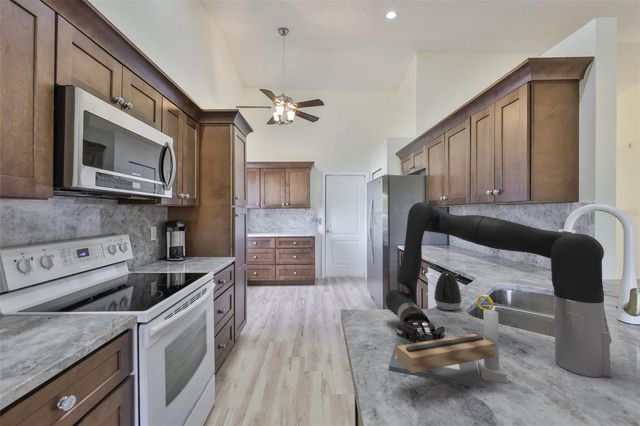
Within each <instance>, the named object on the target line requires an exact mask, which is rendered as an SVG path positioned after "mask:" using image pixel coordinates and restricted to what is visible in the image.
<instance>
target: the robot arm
mask: <svg viewBox="0 0 640 426" xmlns="http://www.w3.org/2000/svg"><path fill="white" fill-rule="evenodd" d="M406 222H407V223H406V231H405V241H404V247H403V254H402V258H401V261H400V265H399V268H398V272H397V276H396V281H397V283H398V284H400V285H402V286H404V287H406V288H407V292H405V291H401V290H398V289H391V290H389V291H388V292H387V294H386V296H385V304H386V307H387V309H388V310H389V311H390V312H392V314H394V315H395V316H397V317H398V318H397V319H398V321H399V324H397V325H396V335H397V336H398V337H400V338H402V339H404V340H406V341H409V342H411V343H412V344H413V343H419V342H426V341H432V340H438V339H444V338H445V337H446V335H445V334H446V330H445V329H446V328H445V327H444V326H439V327H435V325H434V324H433V323H431V321H430V319H429V318H428V316H427V315H426V313H425V312H424V311H423V309H421V307H419V306H418V295H417V294H418V290H417V289H418V282H419V278H420V273H421V270H422V265H423V253H422V252H423V251H422V250H423V249H422V246H423V238H424V234H425V232H427V233H428V232H429V233H437V234H443V235H448V236H452V237H454V238H458V239H459V240H463V241H466V242H468V243H472V244H475V245H479V246H483V247H486V248H491V249H493V250H494V249H495V250H501V251H508V252H517V253H527V254H533V255H537V256H540V257H544V258H546V259H550V271H551V284H552V287H553V303H554V304H553V307H554V312H553V313H554V315H553V316H554V357H555V363H556V365H558V366H559V367H561V368H563V369H564V370H567V371H569V372H572V373H574V374H578V375H582V376H586V377H593V378H600V377H602V378H603V377H609V378H610V377H611V349H610V348H611V347H610V346H611V344H610V335H609V334H607V333H606V332H605V331H606V329H605V328H606V327H605V323H606V321H605V291H604V285H603V259H604V256H605V250H604V247H603V245H602V243H601V242H600V241H599V240H597V239H596V238H595V237H593V236H591V235H588V234H586V233H579V232H578V233H576V232H575V233H574V232H565V231H564V232H563V231H556V230H547V229H541V228H540V229H539V228H536V227H532V226H529V225H525V224H521V223H517V222H514V221H510V220H505V219H501V218H498V217H493V216H492V217H490V216H487V215H481V214H480V215H479V214H468V215H467V214H463V215H457V214H453V213H449V212H445V211H442V210H438V209H436V208H435V207H434V206H432V205H431V204H428V203H426V202H424V201H420V202H416V203H414V204H413V205H411V207H410V209H409V210H408V214H407V221H406Z"/></svg>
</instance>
